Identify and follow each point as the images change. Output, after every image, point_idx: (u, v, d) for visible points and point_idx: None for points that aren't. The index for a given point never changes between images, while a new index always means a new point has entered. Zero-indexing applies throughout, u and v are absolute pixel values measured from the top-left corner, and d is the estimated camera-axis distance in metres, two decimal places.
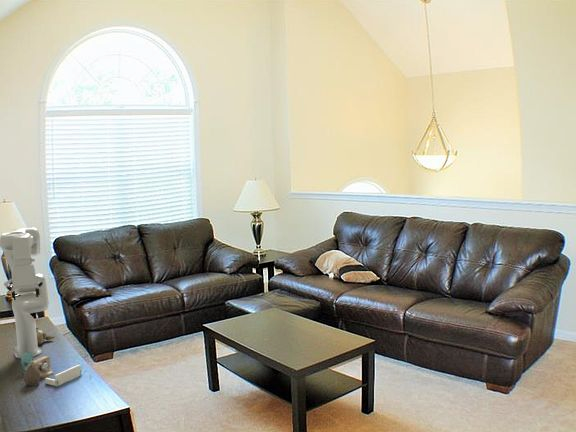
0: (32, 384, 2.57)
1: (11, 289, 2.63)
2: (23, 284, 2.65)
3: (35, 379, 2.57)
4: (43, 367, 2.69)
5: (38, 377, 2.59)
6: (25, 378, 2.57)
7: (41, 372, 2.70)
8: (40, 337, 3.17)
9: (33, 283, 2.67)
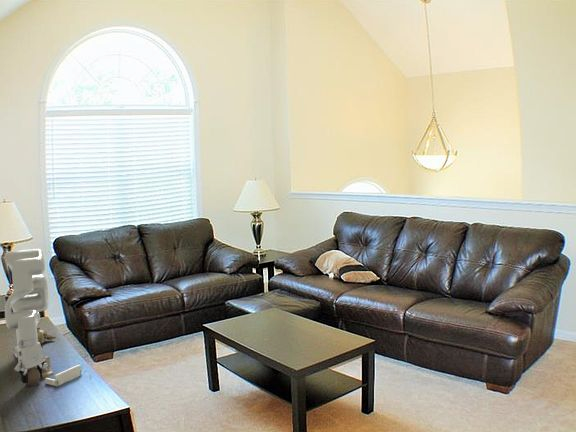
0: (32, 384, 2.57)
1: (38, 364, 2.64)
2: None
3: (35, 379, 2.57)
4: (43, 367, 2.69)
5: (38, 377, 2.59)
6: None
7: None
8: (41, 337, 3.17)
9: None
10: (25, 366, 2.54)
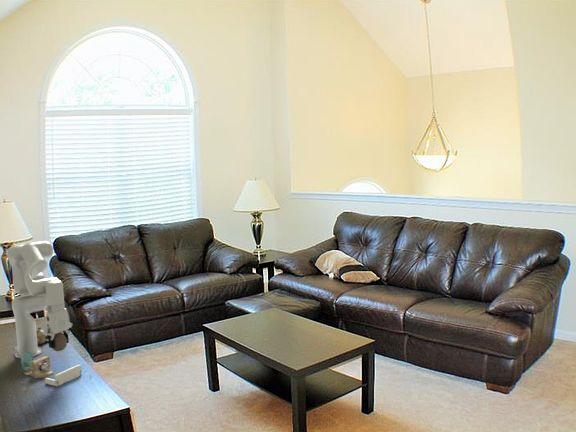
0: (59, 349, 2.61)
1: (64, 330, 2.68)
2: None
3: (62, 344, 2.61)
4: (43, 367, 2.69)
5: (65, 342, 2.63)
6: None
7: (41, 372, 2.70)
8: (42, 337, 3.17)
9: None
10: (53, 331, 2.57)
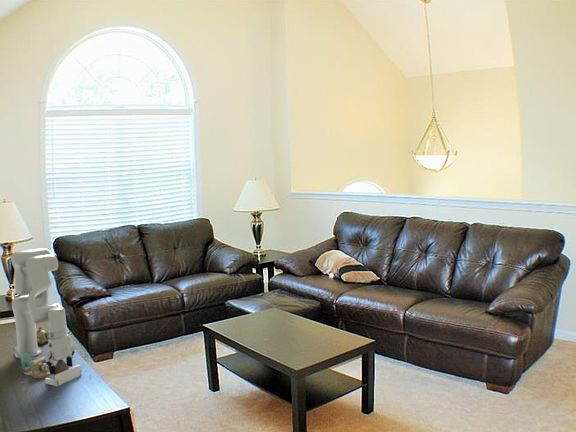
0: None
1: None
2: None
3: None
4: (43, 367, 2.69)
5: None
6: None
7: (41, 372, 2.70)
8: (42, 337, 3.17)
9: None
10: (55, 358, 2.59)
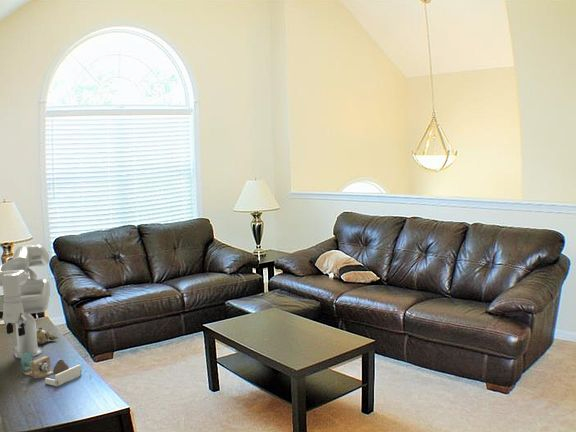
0: None
1: None
2: None
3: None
4: (43, 367, 2.69)
5: None
6: (55, 372, 2.62)
7: (41, 372, 2.70)
8: (42, 337, 3.17)
9: None
10: (3, 318, 2.76)
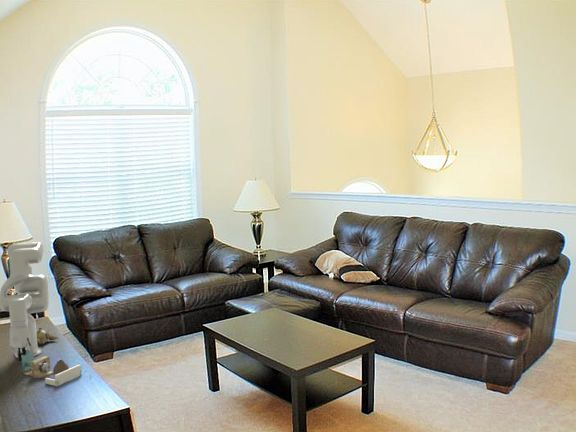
0: None
1: (26, 350, 2.77)
2: None
3: None
4: (44, 367, 2.68)
5: None
6: (55, 372, 2.62)
7: (41, 372, 2.70)
8: (42, 337, 3.16)
9: None
10: (10, 343, 2.76)
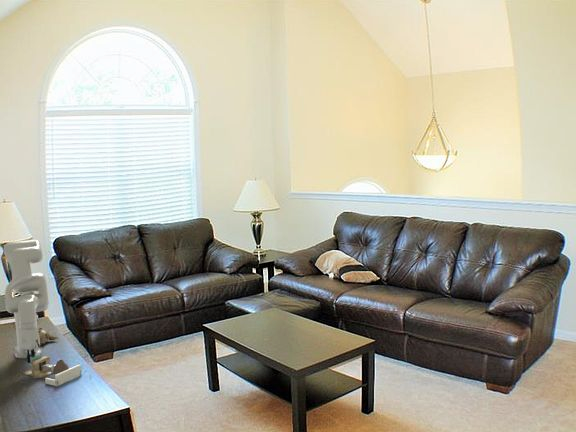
0: None
1: (35, 351, 2.74)
2: None
3: None
4: None
5: None
6: (55, 372, 2.62)
7: (41, 372, 2.70)
8: (43, 337, 3.16)
9: None
10: (18, 344, 2.73)
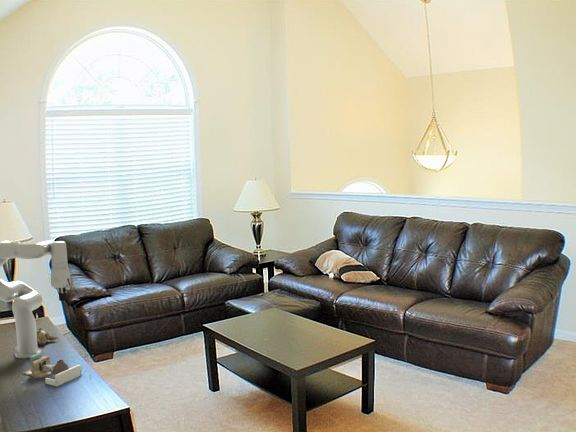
0: None
1: (66, 290, 2.95)
2: None
3: None
4: None
5: None
6: (55, 372, 2.62)
7: (41, 372, 2.70)
8: (43, 337, 3.16)
9: None
10: (51, 283, 2.94)
